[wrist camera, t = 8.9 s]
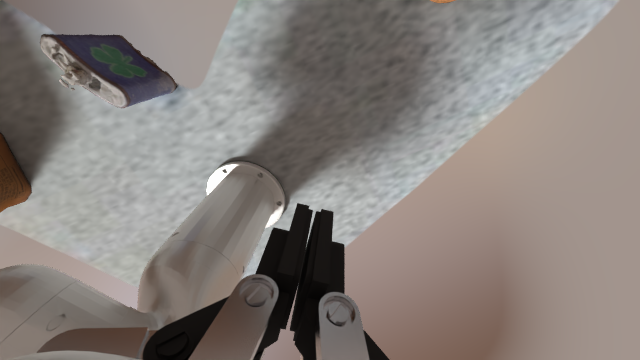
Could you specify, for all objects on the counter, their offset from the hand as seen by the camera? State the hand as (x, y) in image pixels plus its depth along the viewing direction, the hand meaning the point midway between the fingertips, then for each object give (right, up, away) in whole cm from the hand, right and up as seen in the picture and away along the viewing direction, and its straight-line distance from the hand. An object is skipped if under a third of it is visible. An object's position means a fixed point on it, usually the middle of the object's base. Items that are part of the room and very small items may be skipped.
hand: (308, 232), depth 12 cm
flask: (-22, +17, +22) cm, 36 cm away
